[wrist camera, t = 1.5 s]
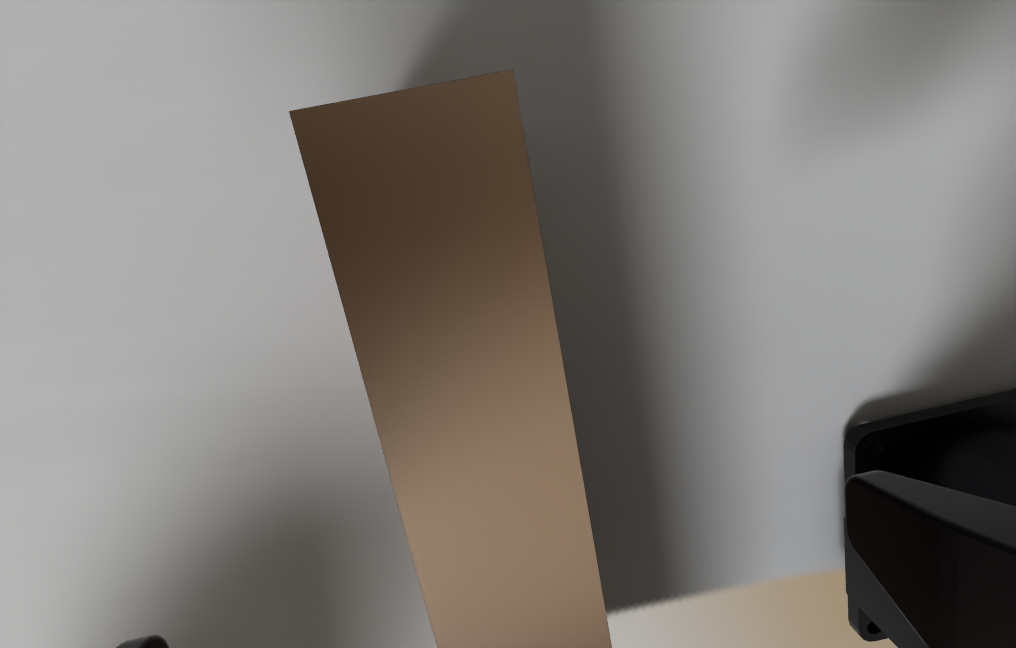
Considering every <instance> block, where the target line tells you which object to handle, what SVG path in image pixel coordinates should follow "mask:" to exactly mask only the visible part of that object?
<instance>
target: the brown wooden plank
mask: <svg viewBox="0 0 1016 648" xmlns="http://www.w3.org/2000/svg"><path fill="white" fill-rule="evenodd" d="M289 113H290V116H291V120H292V124H293V127H294V131H295V134H296V138H297V142H298V145H299V149H300V153H301V156H302V160H303V163H304V167H305V171H306V174H307V178H308V181H309V185H310V189H311V192H312V196H313V200H314V203H315V207H316V210H317V214H318V218H319V221H320V225H321V228H322V232H323V236H324V239H325V243H326V247H327V250H328V254H329V257H330V261H331V265H332V268H333V272H334V275H335V279H336V283H337V286H338V290H339V294H340V297H341V301H342V304H343V308H344V312H345V315H346V319H347V322H348V326H349V330H350V333H351V337H352V341H353V344H354V348H355V351H356V355H357V359H358V362H359V366H360V369H361V373H362V377H363V380H364V384H365V388H366V391H367V395H368V398H369V402H370V406H371V409H372V413H373V416H374V420H375V424H376V427H377V431H378V435H379V438H380V442H381V445H382V449H383V453H384V456H385V460H386V463H387V467H388V471H389V474H390V478H391V482H392V485H393V489H394V492H395V496H396V500H397V503H398V507H399V510H400V514H401V518H402V521H403V525H404V529H405V532H406V536H407V539H408V543H409V547H410V550H411V554H412V557H413V561H414V565H415V568H416V572H417V576H418V579H419V583H420V586H421V590H422V594H423V597H424V601H425V604H426V608H427V612H428V615H429V619H430V623H431V626H432V630H433V633H434V637H435V641H436V644H437V648H612V646H611V640H610V634H609V628H608V622H607V616H606V610H605V605H604V599H603V593H602V587H601V581H600V576H599V570H598V564H597V558H596V552H595V546H594V541H593V535H592V529H591V523H590V517H589V511H588V506H587V500H586V494H585V488H584V482H583V477H582V471H581V465H580V459H579V453H578V447H577V442H576V436H575V430H574V424H573V418H572V412H571V407H570V401H569V395H568V389H567V383H566V378H565V372H564V366H563V360H562V354H561V348H560V343H559V337H558V331H557V325H556V319H555V313H554V308H553V302H552V296H551V290H550V284H549V279H548V273H547V267H546V261H545V255H544V249H543V244H542V238H541V232H540V226H539V220H538V214H537V209H536V203H535V197H534V191H533V185H532V180H531V174H530V168H529V162H528V156H527V150H526V145H525V139H524V133H523V127H522V121H521V116H520V110H519V104H518V98H517V92H516V86H515V81H514V75H513V70H508V71H502V72H497V73H491V74H486V75H481V76H475V77H470V78H465V79H459V80H454V81H449V82H443V83H438V84H432V85H427V86H422V87H416V88H411V89H406V90H400V91H395V92H390V93H384V94H379V95H373V96H368V97H363V98H357V99H352V100H347V101H341V102H336V103H331V104H325V105H320V106H314V107H309V108H304V109H298V110H293V111H289Z"/></svg>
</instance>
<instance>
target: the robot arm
mask: <svg viewBox="0 0 1016 648" xmlns="http://www.w3.org/2000/svg"><path fill="white" fill-rule="evenodd" d="M870 441H871V445H870V446H869V447H868V448H867V449H865V446H866V445H867V444H868V443H869V442H870ZM844 472H845V517H844V535H845V570H846V593H847V595H848V618H849V623H850V625H851V626H852V628H853V629H854V630H855V631H856V632H857V633H858V634H859V635H860V636H861V637H862V638H863V639H864V640H866V641H878V640H882V639H886V638H889V639H890V640H891V641H892V642H893V643H894V644H895V645H896V646H897V647H898V648H1016V390H1012V391H1007V392H1003V393H999V394H994V395H990V396H985V397H981V398H976V399H972V400H968V401H963V402H959V403H954V404H950V405H945V406H941V407H937V408H932V409H928V410H923V411H919V412H914V413H910V414H906V415H901V416H897V417H892V418H888V419H883V420H879V421H875V422H870V423H866V424H862V425H859V426H857V427H855V428H854V429H852V430H851V431H850V432H849V433H848V435H847V437H846V438H845V442H844ZM116 648H169V646H168V644H167V642H166V641H165V639H163V638H162V637H161V636H157V635H152V636H147V637H143V638H139V639H134V640H130V641H126V642H124V643H122V644H120V645H119V646H117V647H116Z"/></svg>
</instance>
